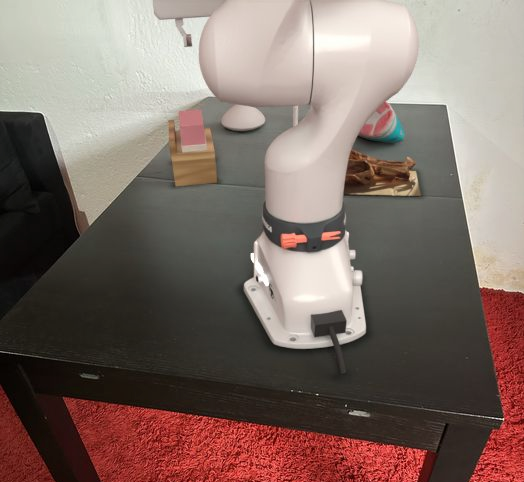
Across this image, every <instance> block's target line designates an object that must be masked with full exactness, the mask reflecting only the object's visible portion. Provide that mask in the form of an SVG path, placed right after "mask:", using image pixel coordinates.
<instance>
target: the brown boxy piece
mask: <svg viewBox="0 0 524 482" xmlns="http://www.w3.org/2000/svg"><path fill="white" fill-rule="evenodd" d="M167 122H168V125H167V126H168V145H169V146H168V147H169V152H170V160H171V165H172V171H173V179H174V186H175V187H184V186H185V187H186V186H196V185H197V186H198V185H206V184H217V183H218V175H217V164H216V163H217V162H216V152H215V147H214V146H215V145H214V141H213V136H212V131H211V128H210V127H208V128H207V127H206V128H204V132H205V137H206V143H207V150H205V151H193V152H182V147H181V135H180V130H176V126H175V120H174V119H168V120H167Z"/></svg>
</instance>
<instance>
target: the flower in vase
mask: <svg viewBox="0 0 524 482" xmlns="http://www.w3.org/2000/svg"><path fill="white" fill-rule="evenodd" d="M265 122H266V118H265V116H264V114H263V113H262V112H261V111H260V110H259V109H258V108H257V107H250V106H244V105H237V104H233V106H231V107H230V108H229V109H228V110H227V111H226V112H225V113H224V114H223V116H222V118H221V121H220V123H221V125H222V126H223V127H224V128H226V129H228V130H231V131H235V132H249V131H254V130H257V129H258V128H260V127H262V126H264V124H265Z"/></svg>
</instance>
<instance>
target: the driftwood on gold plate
mask: <svg viewBox="0 0 524 482" xmlns="http://www.w3.org/2000/svg"><path fill="white" fill-rule="evenodd" d="M405 159H406V160H385V159H384V160H383V159H379V158H376V157H372V156H369V155H366V154H362V152H359V151H356V150H354V149H353V148H352V149H351V152H350V155H349V160H348V165H347V170H346V176H345V183H344V192H343V195H359V196H360V195H361V196H363V195H367V196H368V195H371V196H376V195H377V196H392V197H393V196H404V197H405V196H408V197H410V196H411V197H414V196H415V197H421V196H422V193H421V189H420V186H419V181H418V180H419V179H418V174H417V171H416V170H412V169H413V168H414V166H417V163H416V162H415V160H414V159H413V158H411V157H409V156H406V158H405Z"/></svg>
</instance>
